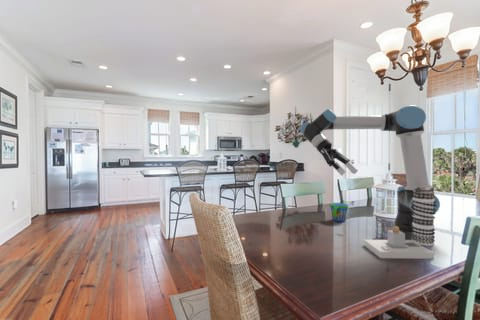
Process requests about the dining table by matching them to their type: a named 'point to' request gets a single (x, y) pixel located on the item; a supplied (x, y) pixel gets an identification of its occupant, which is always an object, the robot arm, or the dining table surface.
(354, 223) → the dining table surface
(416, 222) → the decorative candle
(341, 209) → the snack cup
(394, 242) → the egg topped pedestal
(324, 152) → the robot arm
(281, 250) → the dining table surface
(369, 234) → the dining table surface
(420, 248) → the socket plate
